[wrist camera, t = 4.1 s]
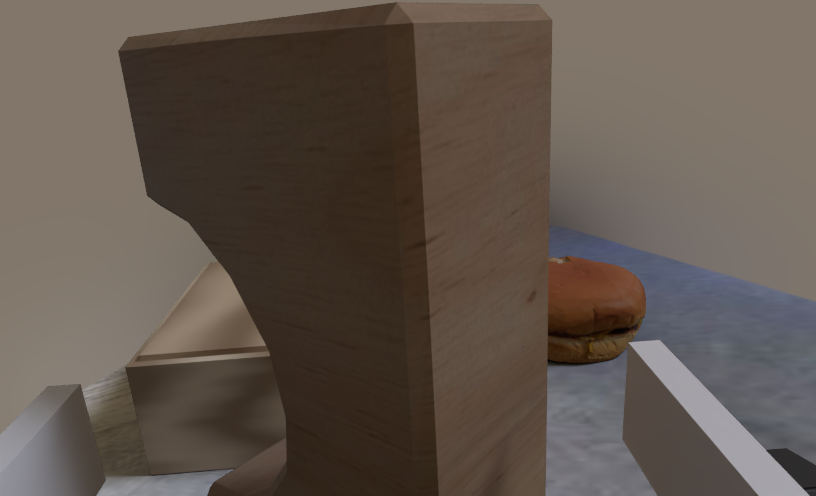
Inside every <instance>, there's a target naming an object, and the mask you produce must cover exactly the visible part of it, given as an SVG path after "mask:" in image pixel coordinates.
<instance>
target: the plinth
mask: <svg viewBox="0 0 816 496" xmlns="http://www.w3.org/2000/svg"><path fill="white" fill-rule="evenodd" d="M125 368H126V372H127V376H128V380H129V385H130V389H131V393H132V398H133V402H134V406H135V410H136V415H137V419H138V423H139V428H140V432H141V436H142V440H143V445H144V449H145V453H146V458H147V462H148V466H149V470H150V475H158V474H170V473H182V472H194V471H206V470H217V469H229V468H238V467H239V466H241V465H242V464H244V463H246V462H247V461H249V460H250V459H252V458H254V457H255V456H257V455H259V454H260V453H262V452H263V451H265V450H267V449H268V448H270V447H271V446H273V445H275V444H276V443H278V442H280V441H281V440H283V439H284V438H286V417H285V413H284V409H283V405H282V401H281V397H280V393H279V389H278V385H277V381H276V377H275V373H274V369H273V365H272V361H271V357H270V353H269V350H268V348H267V346H266V344H265V343H264V341H263V339H262V337H261V335H260V333H259V331H258V329H257V327H256V325H255V323H254V322H253V320H252V318H251V316H250V314H249V312H248V310H247V308H246V306H245V304H244V302H243V300H242V299H241V297H240V295H239V293H238V291H237V289H236V287H235V285H234V283H233V281H232V279H231V277H230V276H229V274H228V273H227V272H226V271H225V269H224V268H223V267H222V265H221V264H220V263H219V262H215V263H210V264H209V265H205V266H204V268H203V269H202V270H201V272H200V273H199V274H198V275H197V277H196V278H195V279H194V281H193V282H192V283H191V284H190V286H189V287H188V288H187V290H186V291H185V292H184V293H183V295H182V296H181V297H180V298H179V300H178V301H177V302H176V304H175V305H174V306H173V307H172V309H171V310H170V311H169V313H168V314H167V315H166V317H165V318H164V319H163V320H162V322H161V323H160V324H159V325H158V327H157V328H156V329H155V330H154V332H153V333H152V334H151V335H150V337H149V338H148V339H147V341H146V342H145V343H144V345H143V346H142V347H141V348H140V350H139V351H138V352H137V353H136V355H135V356H134V357H133V358H132V360H131V361H130V362H129V364H128V365H127V366H126V367H125Z"/></svg>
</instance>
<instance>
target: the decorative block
mask: <svg viewBox="0 0 816 496" xmlns="http://www.w3.org/2000/svg"><path fill="white" fill-rule="evenodd" d="M118 52H119V57H120V62H121V67H122V72H123V77H124V82H125V87H126V92H127V97H128V102H129V107H130V112H131V117H132V122H133V127H134V132H135V137H136V142H137V147H138V152H139V157H140V162H141V167H142V172H143V177H144V182H145V187H146V192H147V196H148V197H150V198H151V199H152V200H154V201H155V202H156V203H158V204H159V205H160V206H162V207H164V208H165V209H167V210H169V211H171V212H172V213H174V214H176V215H177V216H179V217H180V218H182V219H184V220H185V221H187V222H189V224H190V225H191V226H192V227H193V229H194V230H195V231H196V233H197V234H198V235H199V237H200V238H201V239H202V241H203V242H204V243H205V245H206V246H207V247H208V248H209V250H210V251H211V252H212V254H213V255H214V256H215V257H216V259H217V260H218V261H219V263H220V264H221V265H222V267H223V268H224V269H225V271H226V272H227V273H228V274H229V276H230V277H231V279H232V281H233V283H234V285H235V287H236V289H237V291H238V293H239V295H240V297H241V299H242V300H243V302H244V304H245V306H246V308H247V310H248V312H249V314H250V316H251V318H252V320H253V322H254V323H255V325H256V327H257V329H258V331H259V333H260V335H261V337H262V339H263V341H264V343H265V344H266V346H267V348H268V350H269V353H270V357H271V361H272V365H273V369H274V373H275V377H276V381H277V385H278V389H279V393H280V397H281V401H282V405H283V409H284V413H285V417H286V438H284V439H283V440H281V441H280V442H278V443H276V444H275V445H273V446H271V447H270V448H268V449H267V450H265V451H263V452H262V453H260V454H259V455H257V456H255V457H254V458H252V459H250V460H249V461H247V462H246V463H244V464H242V465H241V466H239V467H238V468H236V469H234V470H233V471H231V472H229V473H228V474H226V475H225V476H223V477H221V478H220V479H218V480H216V481H215V482H214V483H213V484H212V486H211V487H210V490H209V492H208V495H207V496H545V486H546V425H547V350H548V263H549V189H550V127H551V124H550V123H551V62H552V20H551V18H550V17H549V16H548V15H547V14H546V13H545V12H544V11H543V9H542V8H541V7H540V6H539V5H533V4H531V5H530V4H467V3H404V2H403V3H401V2H396V3H388V4H381V5H373V6H366V7H358V8H350V9H342V10H334V11H327V12H319V13H312V14H304V15H296V16H289V17H282V18H273V19H266V20H258V21H250V22H243V23H235V24H227V25H219V26H212V27H205V28H196V29H188V30H180V31H173V32H165V33H157V34H149V35H142V36H134V37H128V38H127V40H126V41H125V43H124V44H123V45H122V47H121V48H120V50H119V51H118Z"/></svg>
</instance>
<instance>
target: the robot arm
mask: <svg viewBox="0 0 816 496" xmlns="http://www.w3.org/2000/svg"><path fill="white" fill-rule="evenodd" d="M622 439H623V441H624V442H625V444H626V446H627V447H628V449H629V450H630V452H631V454H632V455H633V457H634V458H635V460H636V462H637V463H638V465H639V466H640V468H641V470H642V471H643V473H644V474H645V476H646V478H647V479H648V481H649V482H650V484H651V486H652V487H653V489H654V490H655V492H656V494H657V495H658V496H816V465H814V464H813V463H811V462H809V461H807V460H806V459H804V458H802V457H801V456H799V455H797V454H795V453H794V452H792V451H790V450H788V449H787V448H784V449H772V450H765V449H764V448H763V447H762V446H761V445H760V444H759V443H758V442H757V441H756V440H755V439H754V437H753V436H752V435H751V434H750V433H749V432H748V431H747V430H746V429H745V428H744V427H743V426H742V425H741V424H740V423H739V422H738V421H737V420H736V419H735V418H734V417H733V416H732V415H731V414H730V413H729V412H728V411H727V409H726V408H725V407H724V406H723V405H722V404H721V403H720V402H719V401H718V400H717V399H716V398H715V397H714V396H713V395H712V394H711V393H710V392H709V391H708V390H707V389H706V388H705V387H704V386H703V385H702V384H701V383H700V382H699V380H698V379H697V378H696V377H695V376H694V375H693V374H692V373H691V372H690V371H689V370H688V369H687V368H686V367H685V366H684V365H683V364H682V363H681V362H680V361H679V360H678V359H677V358H676V357H675V356H674V355H673V354H672V352H671V351H670V350H669V349H668V348H667V347H666V346H665V345H664V344H663V343H662V342H661V341H660V340H654V341H641V342H628V356H627V373H626V389H625V405H624V421H623V437H622ZM104 482H105V476H104V472H103V468H102V464H101V461H100V457H99V453H98V449H97V445H96V442H95V438H94V434H93V430H92V426H91V422H90V419H89V415H88V411H87V407H86V403H85V400H84V396H83V392H82V388H81V385H80V384H73V385H61V386H48V387H47V388H46V389H45V390H44V391H43V392H42V393H41V394H40V395H39V396H38V397H37V398H36V399H35V400H34V401H33V402H32V403H31V404H30V405H29V406H28V407H27V408H26V409H25V410H24V411H23V412H22V413H21V414H20V415H19V416H18V417H17V418H16V419H15V420H14V421H13V422H12V423H11V424H10V425H9V426H8V428H7V429H5V431H4V432H3V433H2V434H1V435H0V496H96V495H97V493H98V492H99V490H100V488H101V487H102V485H103V484H104Z"/></svg>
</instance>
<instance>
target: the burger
mask: <svg viewBox="0 0 816 496" xmlns="http://www.w3.org/2000/svg"><path fill="white" fill-rule="evenodd" d="M645 313H646V297H645V291H644V287H643V285H642V283H641V282H640V280H639V279H638V278H637V277H636V276H635V275H634V274H632V273H631V272H629V271H628V270H626V269H625V268H622V267H619V266H616V265H612V264H607V263H602V262H594V261H590V260H586V259H581V258H577V257H571V256H566V257H562V258H559V259H557V258H553V257H552V258H549V263H548V350H547V359H549V360H553V361H558V362H567V363H585V362H589V363H594V362H597V363H598V362H599V361H608V360H612V359H613V358H615V357H617V356H618V355H620V354H621V353H622V352H623V351H624V350H625V349H626V348H627V347H628V342H632V341H633V339H634V337H635V336H636V334H637V332H638V330H639V328H640V326H641V323H642V319H643V318H644V317H645Z"/></svg>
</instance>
